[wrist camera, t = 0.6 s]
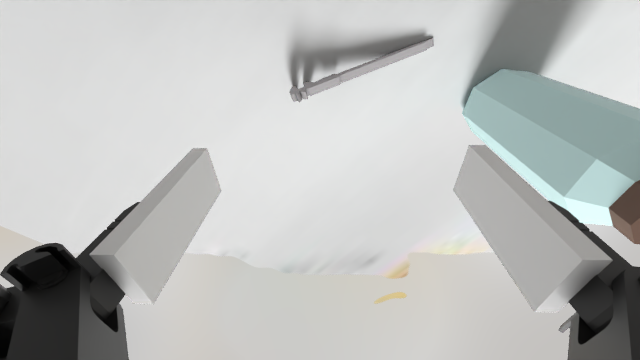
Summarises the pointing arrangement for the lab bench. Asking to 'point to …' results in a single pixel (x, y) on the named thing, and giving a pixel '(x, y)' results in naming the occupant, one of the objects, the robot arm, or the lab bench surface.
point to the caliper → (357, 71)
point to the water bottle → (564, 144)
